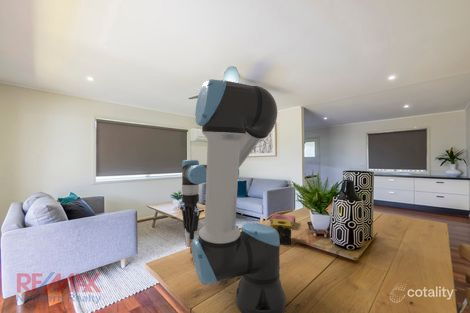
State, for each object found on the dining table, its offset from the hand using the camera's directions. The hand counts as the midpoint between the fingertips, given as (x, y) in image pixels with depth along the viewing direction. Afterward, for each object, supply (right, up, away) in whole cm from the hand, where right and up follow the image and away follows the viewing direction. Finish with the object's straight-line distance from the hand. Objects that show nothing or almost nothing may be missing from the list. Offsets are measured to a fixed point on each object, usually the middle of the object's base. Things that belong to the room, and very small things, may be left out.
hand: (190, 245), depth 93 cm
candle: (+45, -5, +18) cm, 49 cm away
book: (+52, -6, +44) cm, 68 cm away
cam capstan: (+6, -2, +3) cm, 7 cm away
